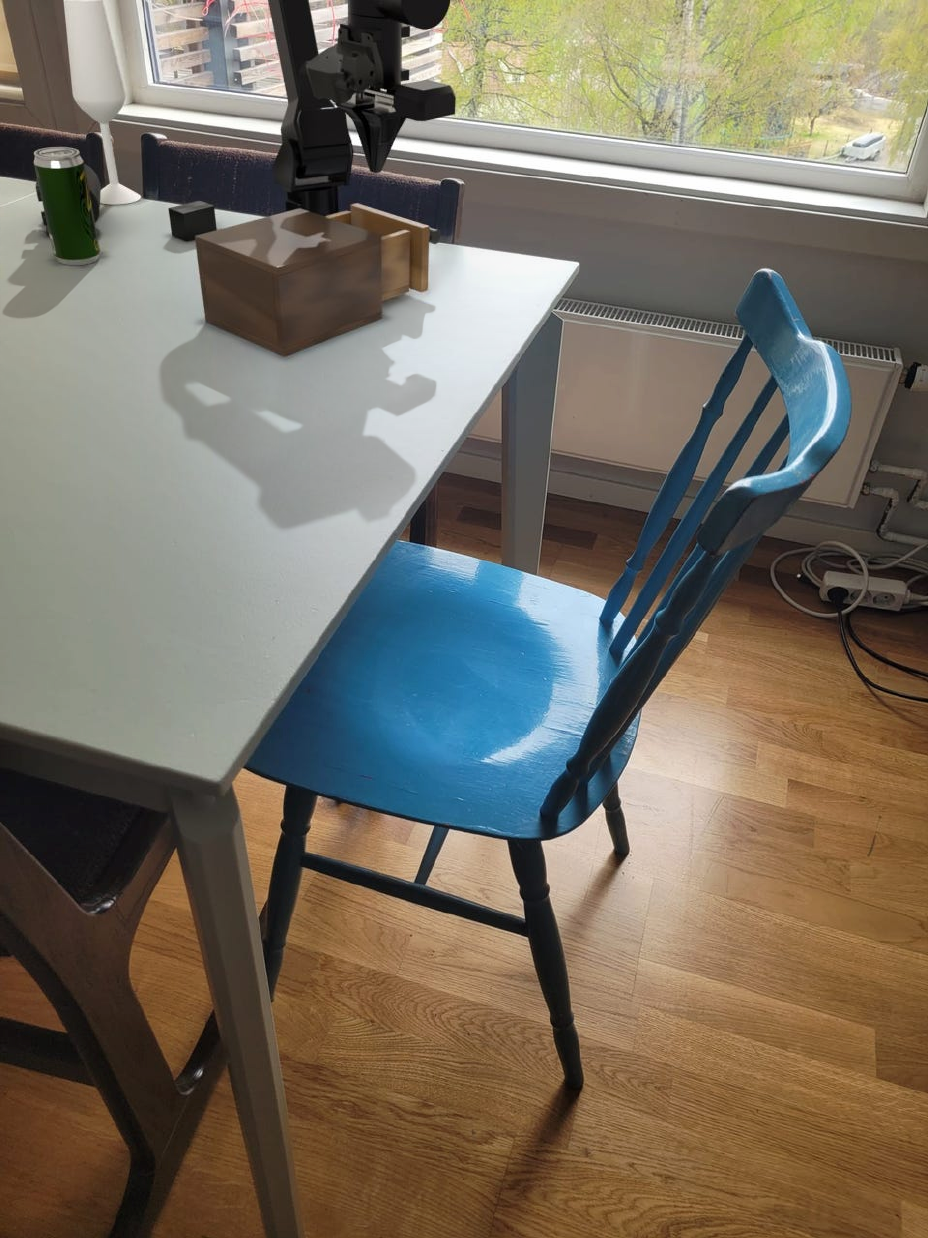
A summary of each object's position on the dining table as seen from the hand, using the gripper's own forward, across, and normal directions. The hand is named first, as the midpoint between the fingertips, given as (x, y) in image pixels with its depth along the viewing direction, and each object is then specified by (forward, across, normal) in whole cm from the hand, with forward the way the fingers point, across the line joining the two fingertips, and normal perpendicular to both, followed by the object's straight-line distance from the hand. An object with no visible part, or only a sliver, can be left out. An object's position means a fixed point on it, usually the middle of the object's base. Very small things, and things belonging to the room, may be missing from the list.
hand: (375, 171), depth 111 cm
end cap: (+12, -39, -16) cm, 44 cm away
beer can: (+12, -28, -23) cm, 38 cm away
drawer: (+11, +4, -6) cm, 13 cm away
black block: (+12, -26, -7) cm, 30 cm away
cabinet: (+12, +4, -17) cm, 21 cm away
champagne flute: (+12, -46, -4) cm, 48 cm away
